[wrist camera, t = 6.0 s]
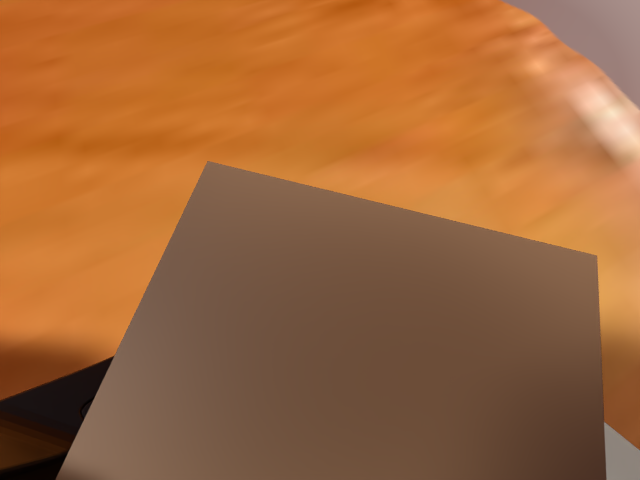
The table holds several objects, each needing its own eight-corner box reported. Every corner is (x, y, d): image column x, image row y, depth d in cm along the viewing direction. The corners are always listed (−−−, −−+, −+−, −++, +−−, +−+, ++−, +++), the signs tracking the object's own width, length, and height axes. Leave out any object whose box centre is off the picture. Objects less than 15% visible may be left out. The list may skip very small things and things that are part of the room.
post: (364, 455, 14) (626, 958, 2) (254, 420, 14) (-39, 675, 3) (387, 338, 15) (597, 255, 4) (288, 310, 16) (208, 161, 4)
